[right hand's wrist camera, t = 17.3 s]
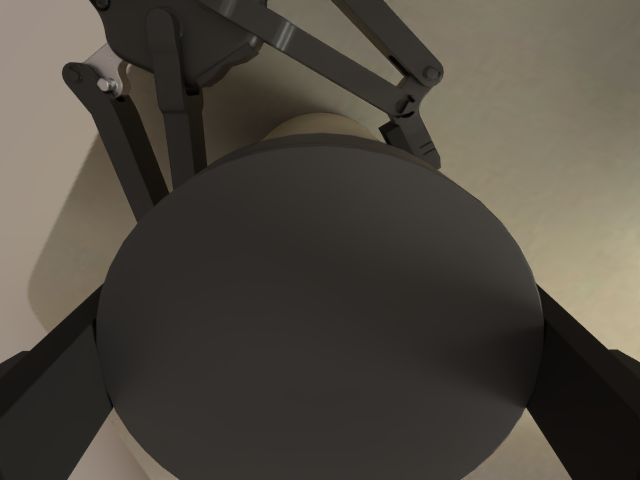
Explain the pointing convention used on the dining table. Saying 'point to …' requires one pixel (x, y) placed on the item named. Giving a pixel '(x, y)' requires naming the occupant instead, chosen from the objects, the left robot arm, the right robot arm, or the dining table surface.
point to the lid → (319, 319)
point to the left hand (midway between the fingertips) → (356, 273)
